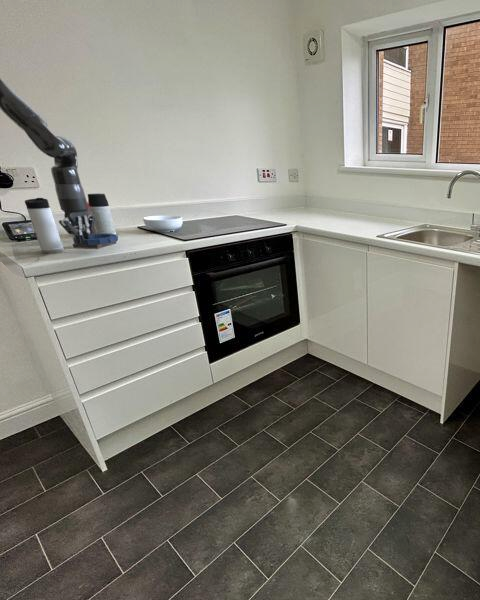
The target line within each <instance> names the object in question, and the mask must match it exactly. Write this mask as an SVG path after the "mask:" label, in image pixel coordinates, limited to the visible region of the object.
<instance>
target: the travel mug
mask: <svg viewBox="0 0 480 600" xmlns="http://www.w3.org/2000/svg"><path fill="white" fill-rule="evenodd" d="M24 204H25V206H26V210H27V213H28V216H29V219H30V222H31V225H32V228H33V230H34V233H35V236H36V239H37V242H38V245H39V248H40V251H41V253H43V254H57V253H61V252H64V250H65V249H64V246H63V242H62V239H61V235H60V234H59V231H58V227H57V223H56V221H55V218H54V215H53V212H52V209H51V207H50V203H49V200H48V199H47V198H44V197H36V198H30V199H29V198H28V199H25V200H24Z"/></svg>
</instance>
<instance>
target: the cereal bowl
mask: <svg viewBox="0 0 480 600" xmlns="http://www.w3.org/2000/svg"><path fill="white" fill-rule="evenodd" d="M142 220H143V224H144V225H145V227H146V228H148V229H149V230H152V231H155V232H156V233H171V232H170V231H173V232H175V231H176V230H178V229H180V228H181V227H182V226H183V216H179V215H151V216H145V217H143V219H142Z"/></svg>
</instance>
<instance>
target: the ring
mask: <svg viewBox="0 0 480 600" xmlns="http://www.w3.org/2000/svg"><path fill="white" fill-rule="evenodd" d="M90 237H91V239H84V240H85V245H99V244H108V243H113V242H116V243H117V242H118V241H119V238H118V235H117V233H116V234H107V233H104V234H103V233H101V234H90ZM72 240H73V244H77V245H78V243H77V241H76V237H75V236H74V237H72Z"/></svg>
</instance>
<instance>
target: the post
mask: <svg viewBox="0 0 480 600" xmlns="http://www.w3.org/2000/svg"><path fill="white" fill-rule="evenodd" d="M87 212H88V214H89V215H90V216H92V214H91V211H90V208H89V209H88V210H87ZM89 226H90V225H89ZM89 228H90V227H89ZM90 234H97V232H96V229H95V225H94V231H91V232H90ZM116 244H117V241H116V242H113V243H108V244H99V245H77V244H74V243H72V247H73V249H101V248H104V247H108V246H109V247H110V246H113V245H116Z"/></svg>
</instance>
